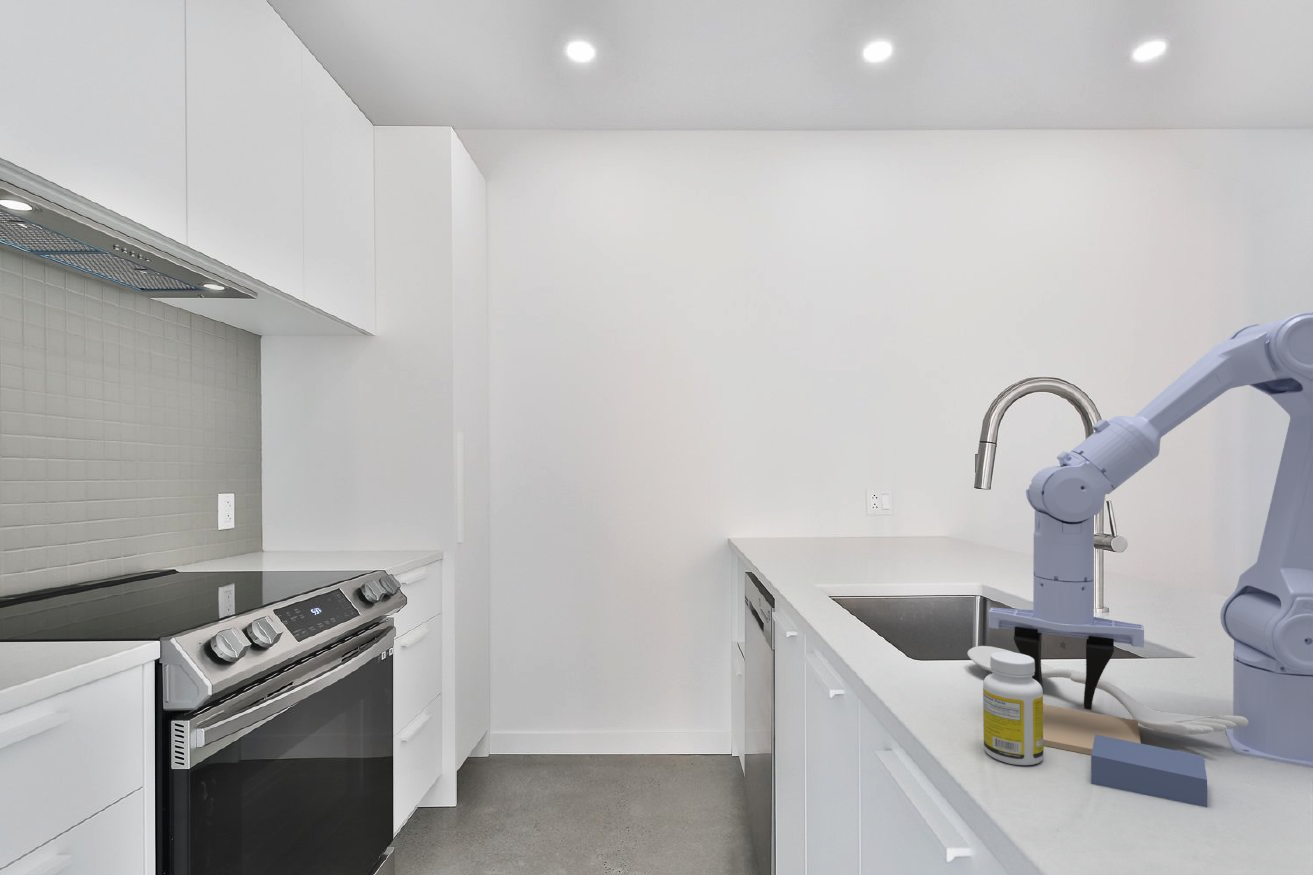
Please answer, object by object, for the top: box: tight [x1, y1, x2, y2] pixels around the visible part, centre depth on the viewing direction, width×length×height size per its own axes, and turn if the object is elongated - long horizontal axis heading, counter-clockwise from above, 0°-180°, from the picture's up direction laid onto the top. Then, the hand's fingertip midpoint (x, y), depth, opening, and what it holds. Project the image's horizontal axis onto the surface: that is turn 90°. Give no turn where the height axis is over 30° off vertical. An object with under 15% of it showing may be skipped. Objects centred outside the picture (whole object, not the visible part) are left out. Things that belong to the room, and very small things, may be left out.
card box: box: [1090, 735, 1208, 808], centre depth 67 cm, size 8×6×3 cm, turn 56°
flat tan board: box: [1043, 703, 1142, 756], centre depth 79 cm, size 14×11×1 cm
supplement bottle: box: [982, 651, 1044, 766], centre depth 73 cm, size 5×5×10 cm
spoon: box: [966, 645, 1249, 736], centre depth 86 cm, size 9×32×4 cm, turn 18°
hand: (1062, 702), depth 79 cm, fingers open, 4 cm apart
